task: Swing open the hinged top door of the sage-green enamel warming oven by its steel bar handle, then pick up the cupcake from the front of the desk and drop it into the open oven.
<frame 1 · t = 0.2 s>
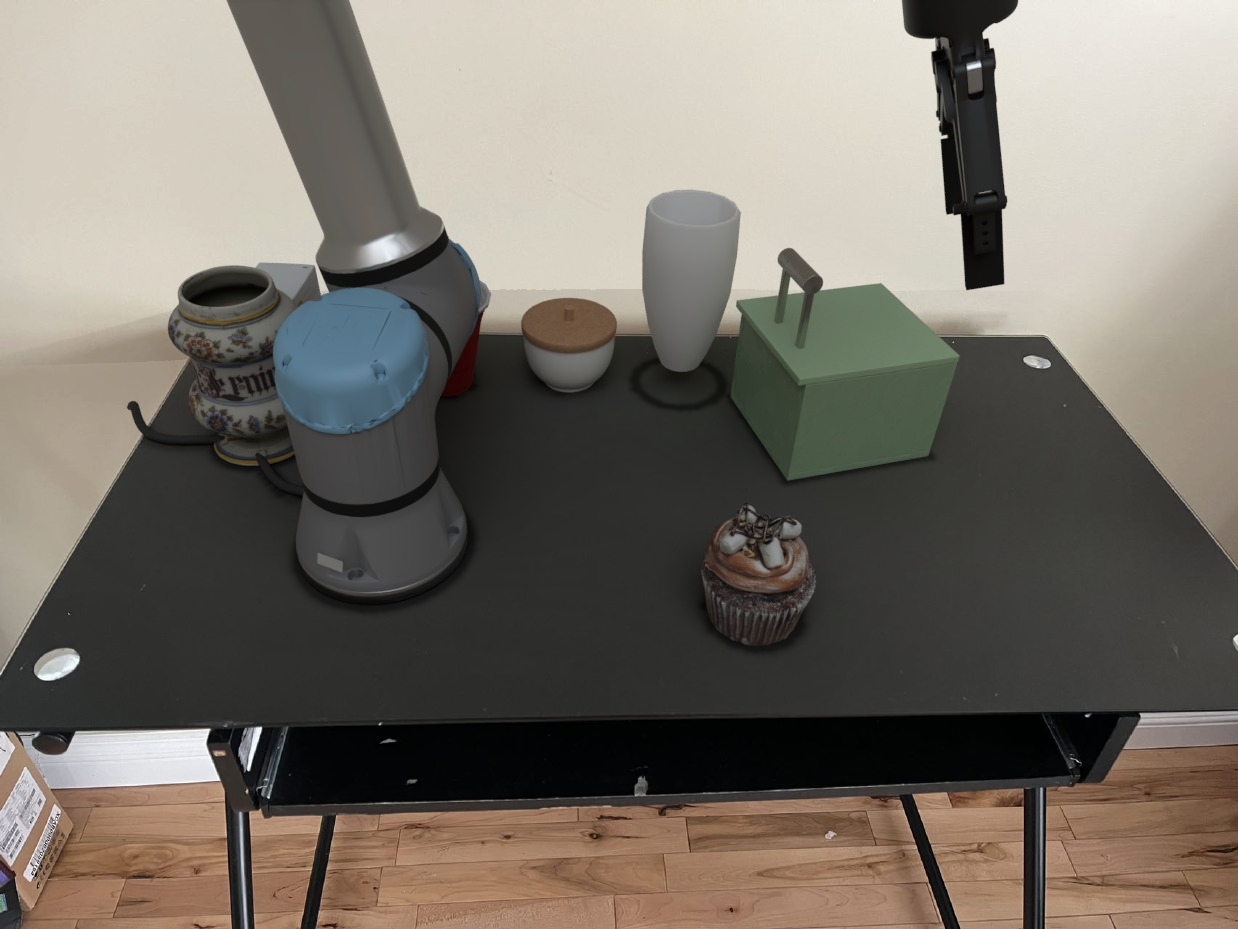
hand: (972, 245, 74), 28 cm above the table, tool tilted 20°, fingers open, 13 cm apart
warming oven: (825, 425, 101), on the table
small box: (298, 383, 104), on the table
oven door: (850, 295, 91), point 16 cm above the table, hinge at 0.0°
plastic cup: (449, 384, 105), on the table
cup: (677, 383, 107), on the table
white bowl with lid: (569, 379, 107), on the table
cupcake: (751, 612, 79), on the table
apothecary jar: (265, 439, 96), on the table
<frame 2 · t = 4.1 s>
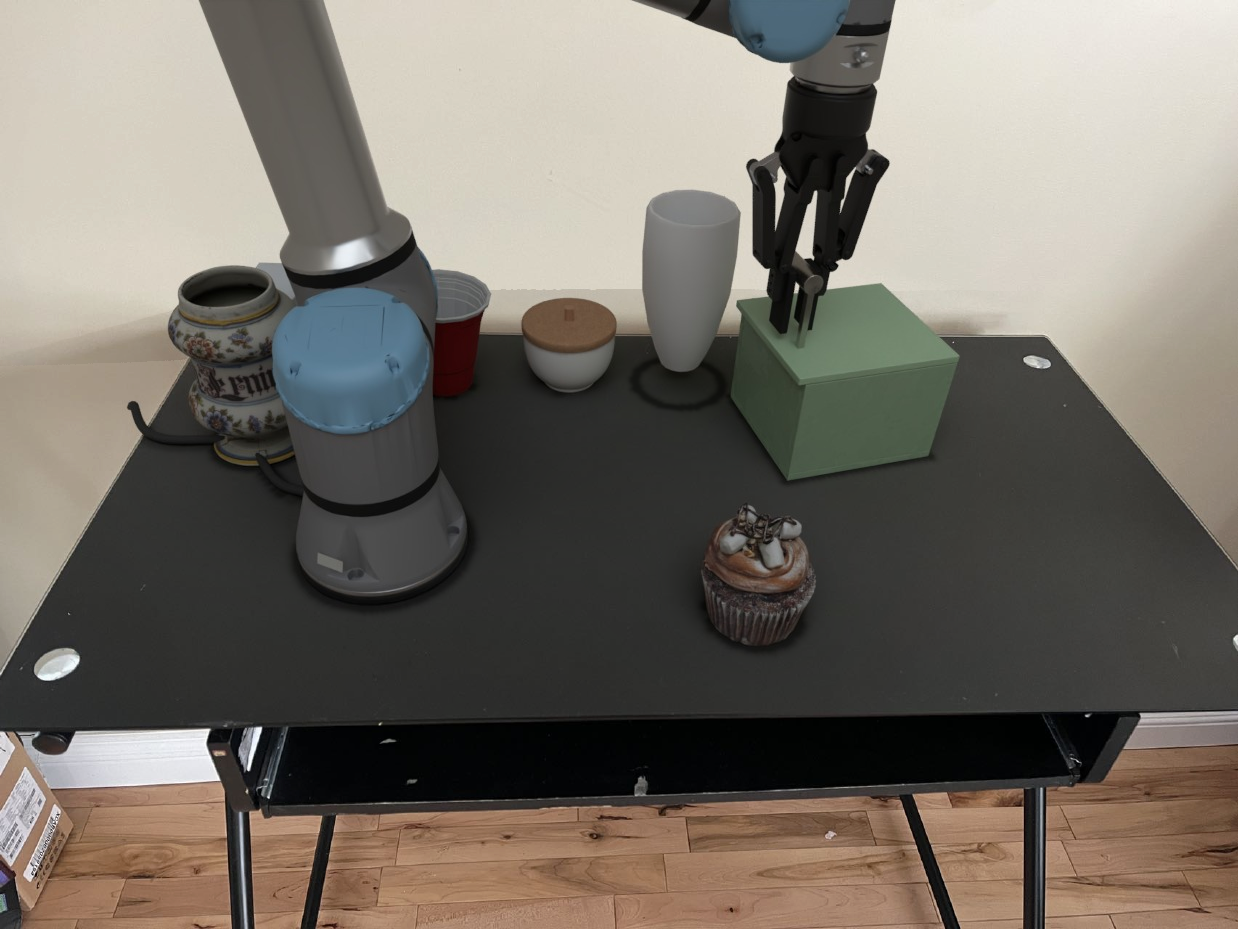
hand: (790, 324, 91), 14 cm above the table, tool pointing down, fingers closed on oven door, 2 cm apart
oven door: (850, 295, 91), point 16 cm above the table, hinge at 0.1°, touching gripper
everything else where it was.
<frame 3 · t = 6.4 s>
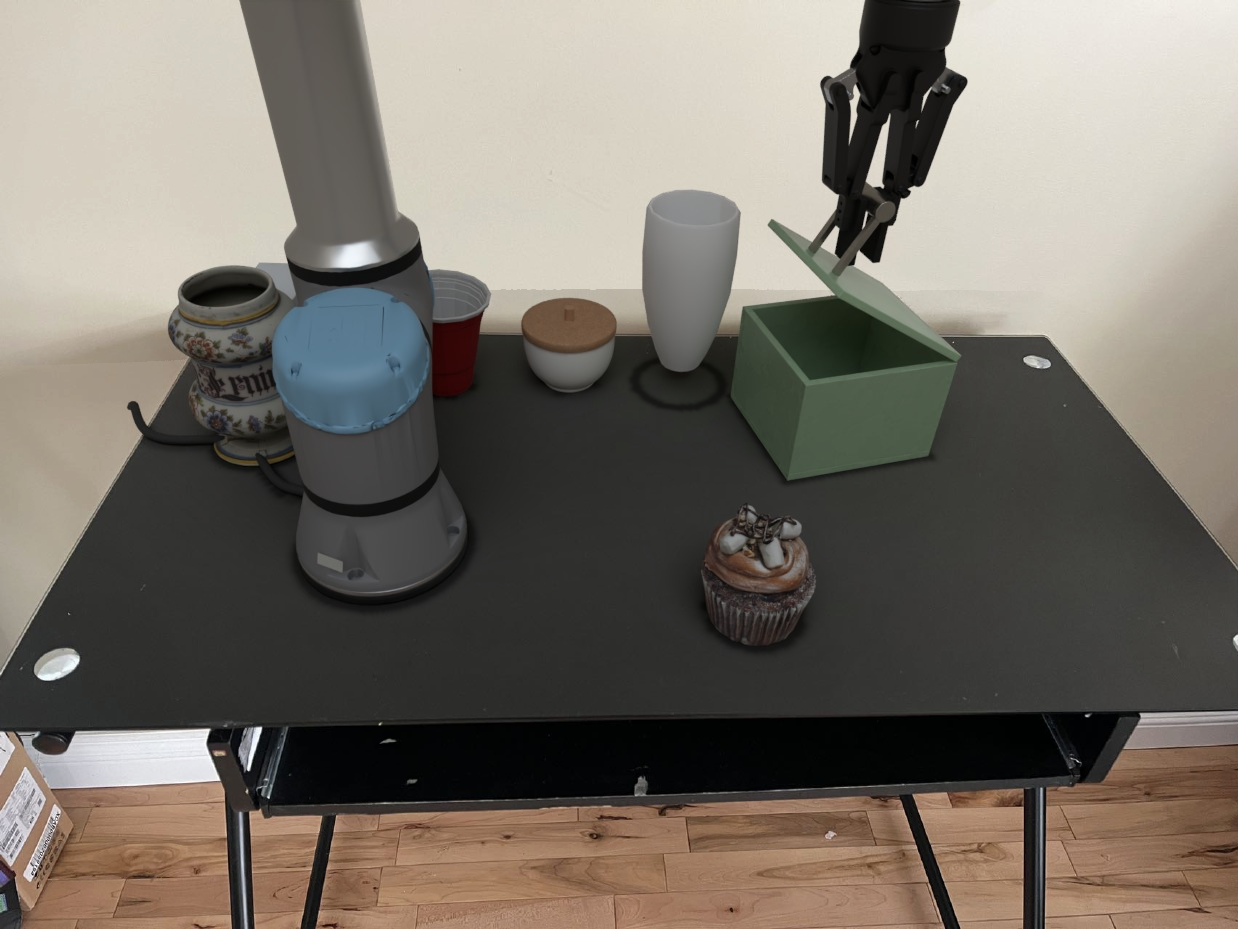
hand: (857, 257, 88), 20 cm above the table, tool pointing down, fingers closed on oven door, 2 cm apart
oven door: (888, 256, 89), point 20 cm above the table, hinge at 31.2°, touching gripper
everything else where it was.
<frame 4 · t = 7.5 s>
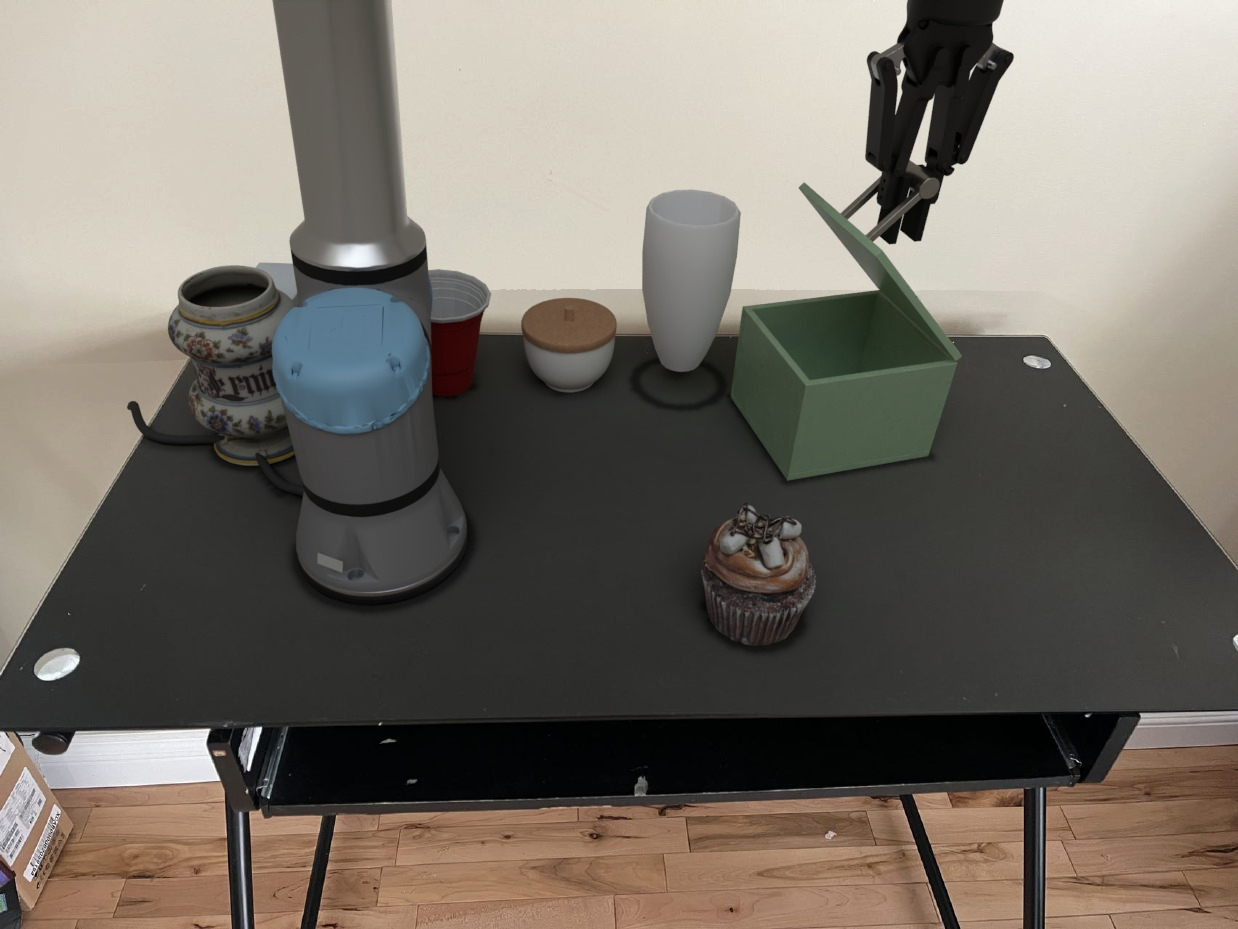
hand: (898, 236, 88), 22 cm above the table, tool pointing down, fingers closed on oven door, 2 cm apart
oven door: (912, 242, 89), point 21 cm above the table, hinge at 46.5°, touching gripper
everything else where it was.
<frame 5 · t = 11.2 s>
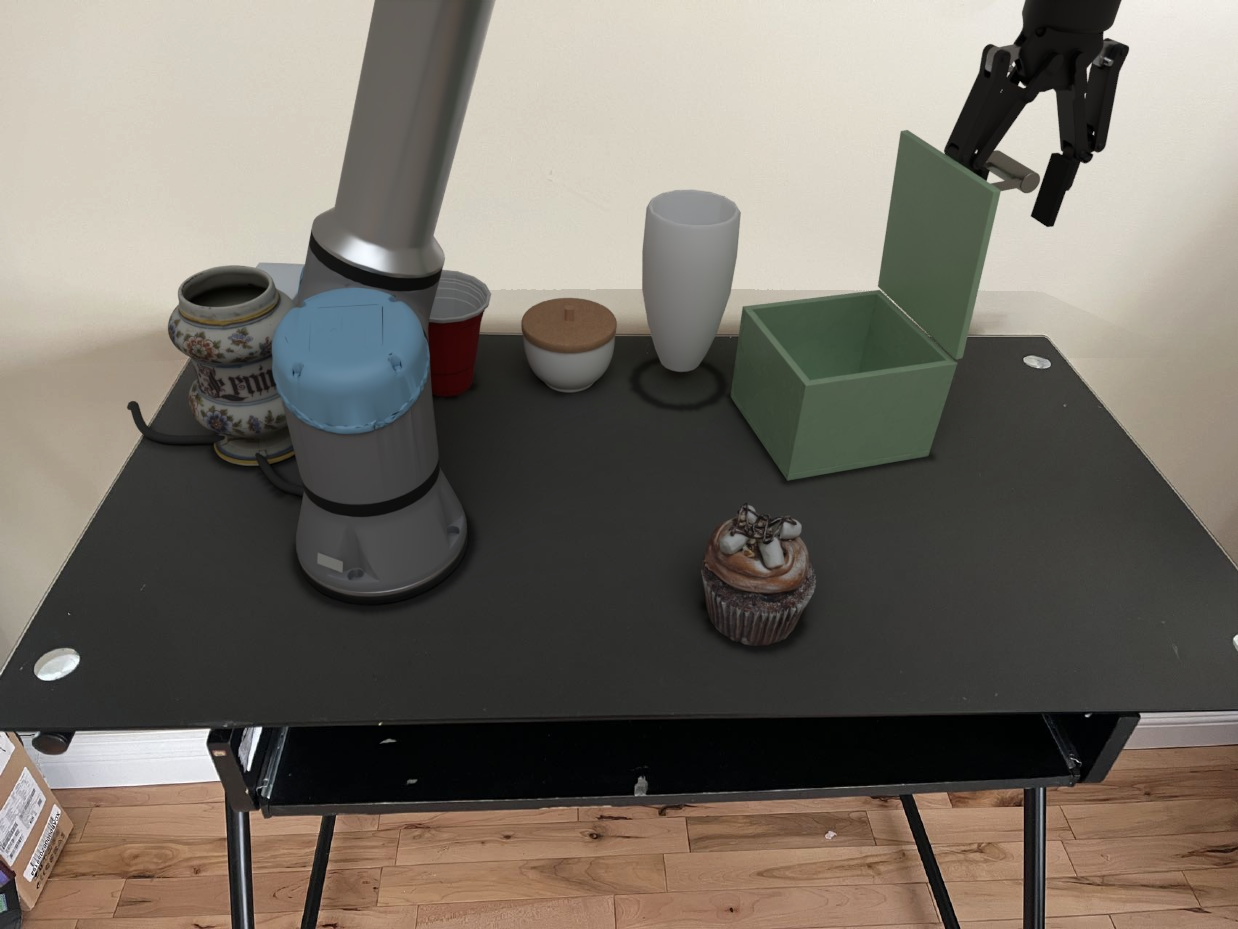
hand: (1001, 225, 91), 22 cm above the table, tool pointing down, fingers open, 9 cm apart
oven door: (967, 237, 90), point 21 cm above the table, hinge at 84.7°, touching gripper
everything else where it was.
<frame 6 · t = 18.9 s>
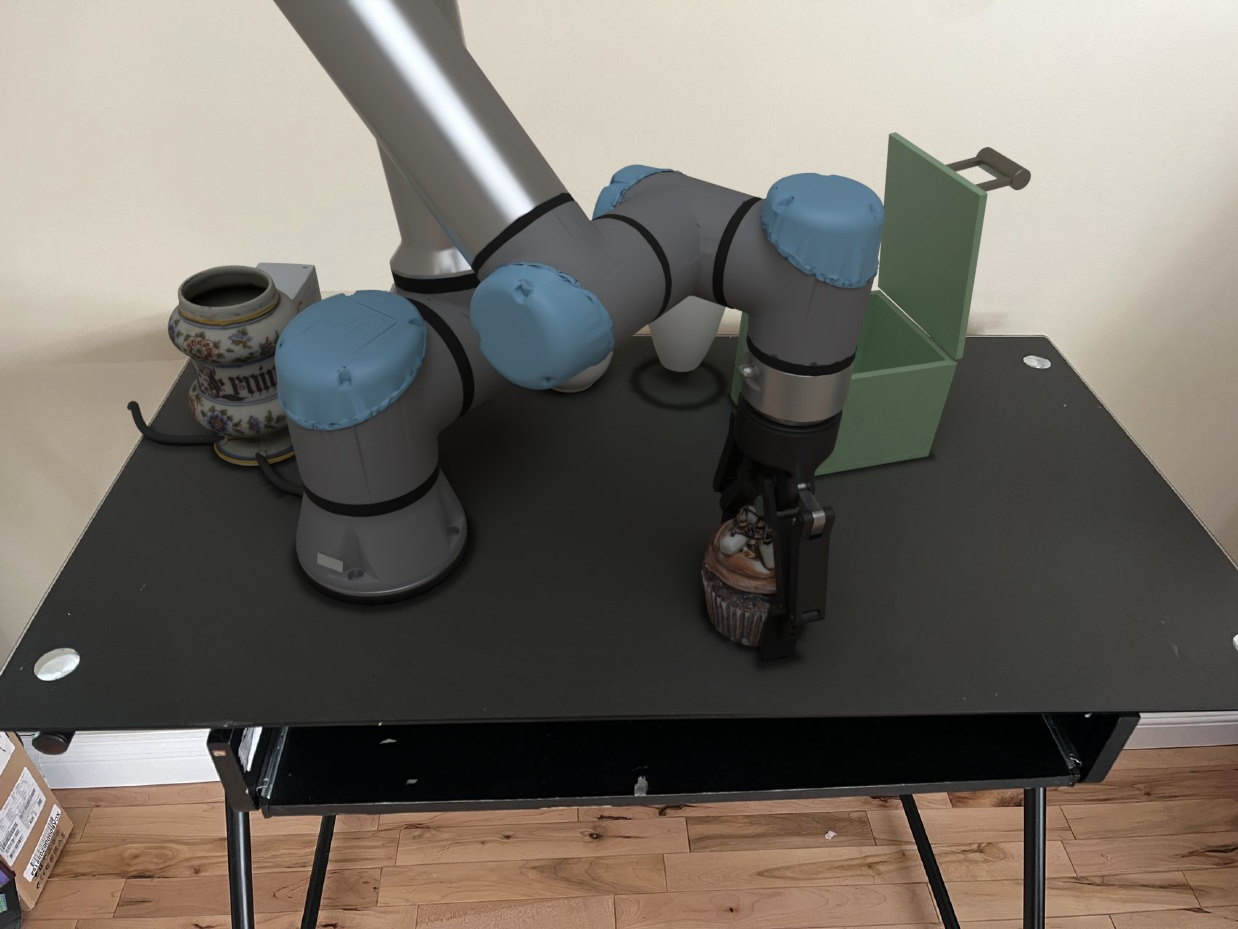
hand: (752, 609, 79), 0 cm above the table, tool pointing down, fingers closed on cupcake, 10 cm apart
oven door: (962, 235, 90), point 21 cm above the table, hinge at 80.5°
cupcake: (751, 612, 79), on the table, touching gripper
everything else where it was.
when the fingers open (11 cm above the table, at t = 27.0 s): cupcake drops 6 cm, resting on warming oven.
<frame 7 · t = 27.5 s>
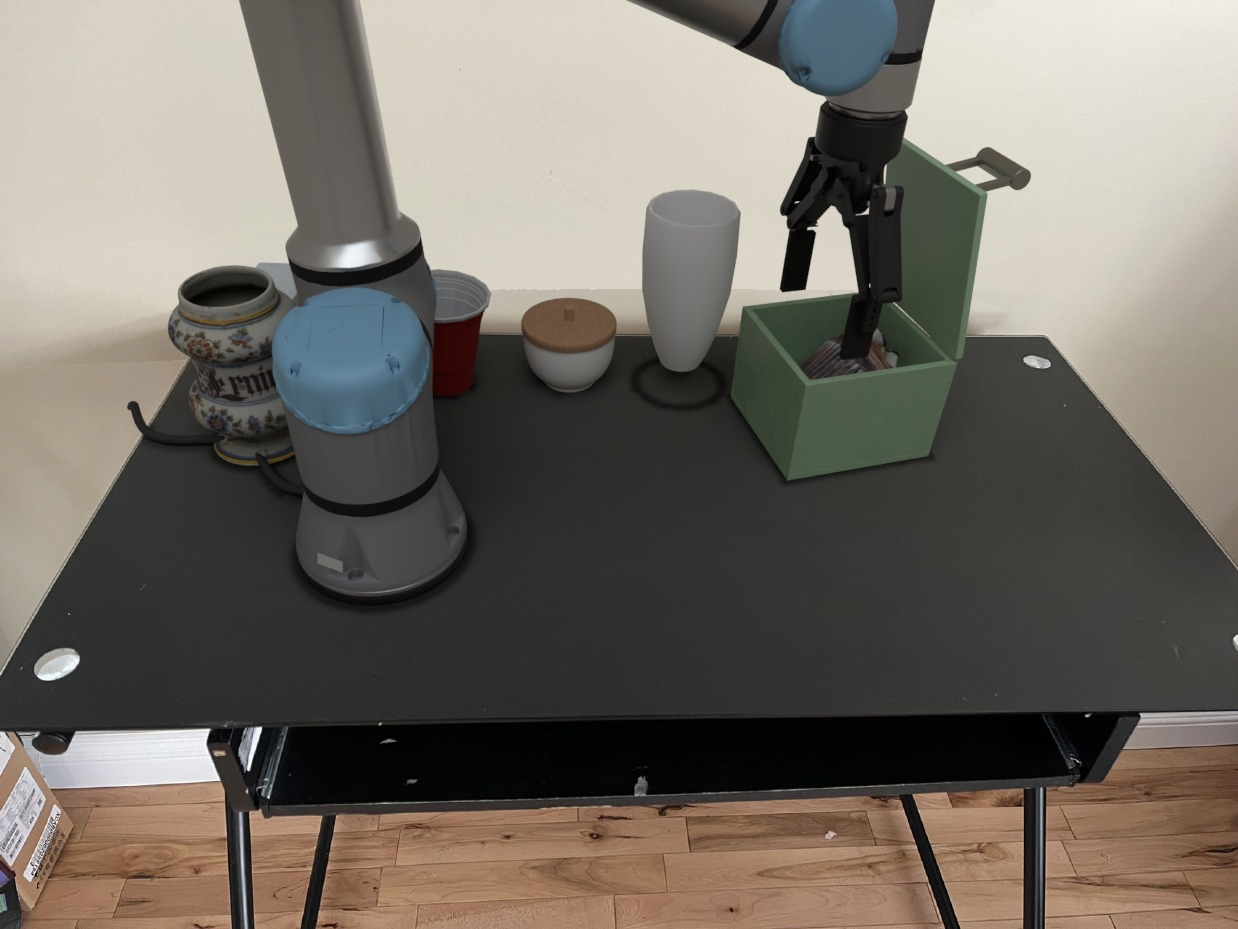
hand: (821, 321, 91), 14 cm above the table, tool pointing down, fingers open, 13 cm apart
cupcake: (813, 402, 97), point 4 cm above the table, touching warming oven
everything else where it was.
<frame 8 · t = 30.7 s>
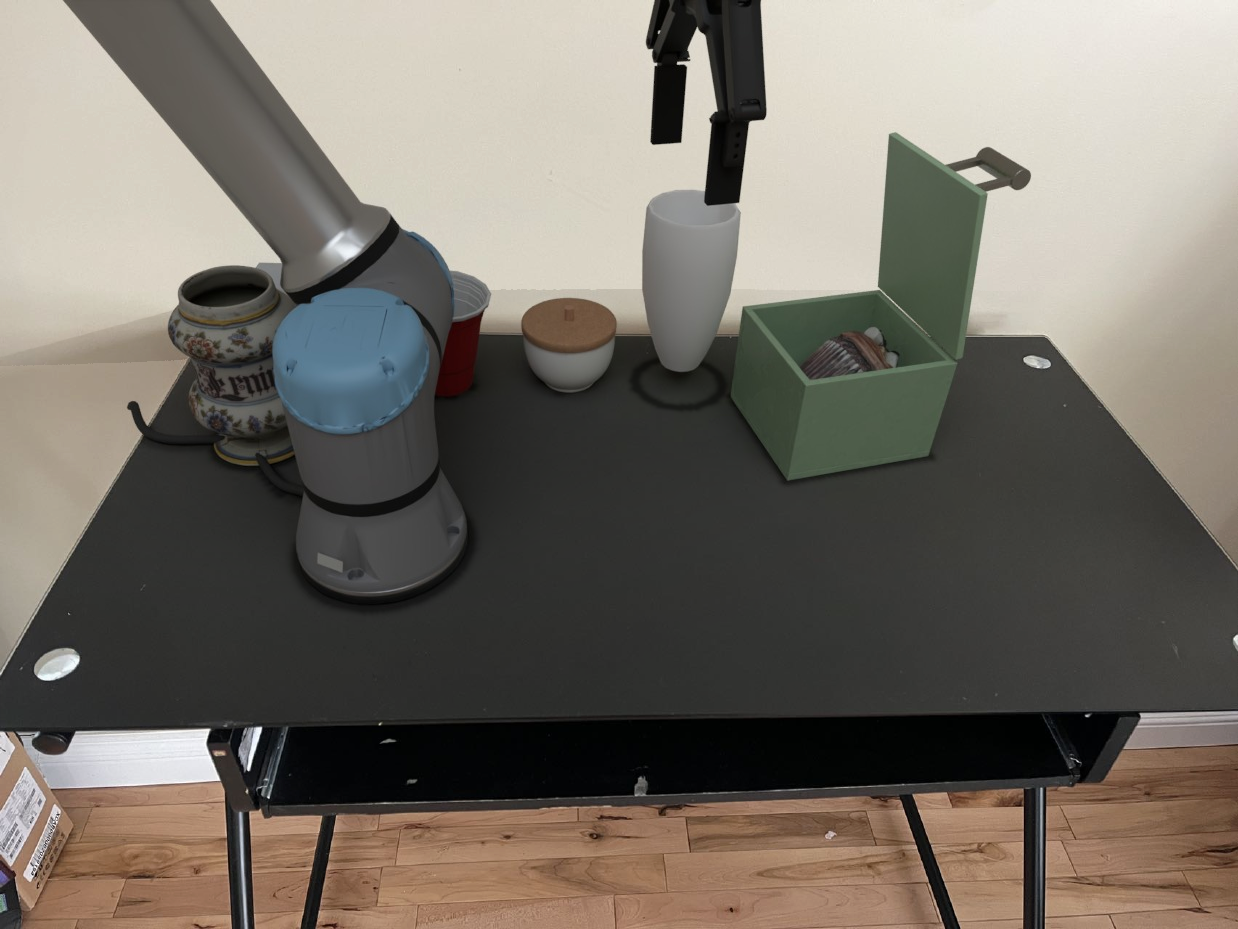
hand: (691, 171, 76), 31 cm above the table, tool pointing down, fingers open, 13 cm apart
nothing on the table moved.
at the end: oven door at +80° (first picture: +0°); cupcake inside the target area in the warming oven (3.0 cm from its centre), point 4.3 cm above the warming oven's base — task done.
